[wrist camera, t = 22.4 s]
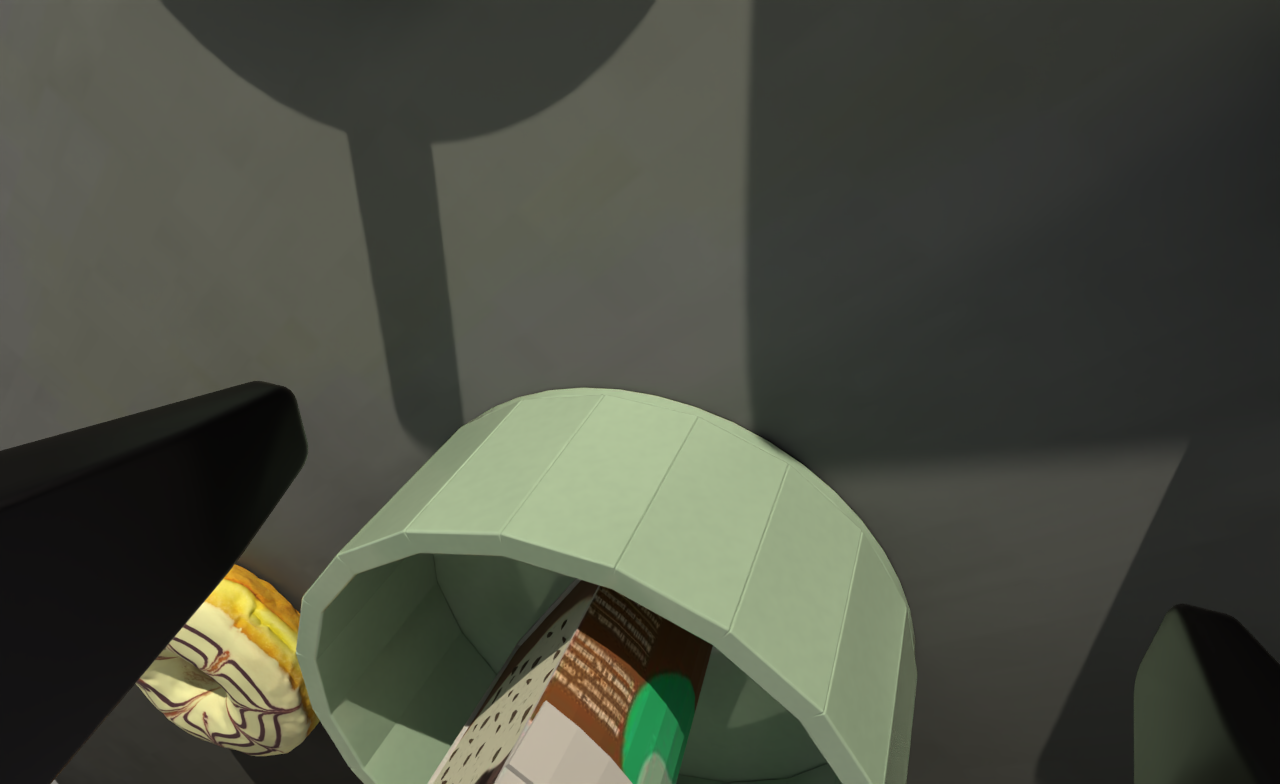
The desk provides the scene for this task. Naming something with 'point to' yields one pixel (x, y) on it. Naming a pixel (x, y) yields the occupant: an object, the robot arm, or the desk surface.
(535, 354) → the desk surface
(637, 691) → the food container
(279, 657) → the decorated donut
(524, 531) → the pot
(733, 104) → the desk surface
